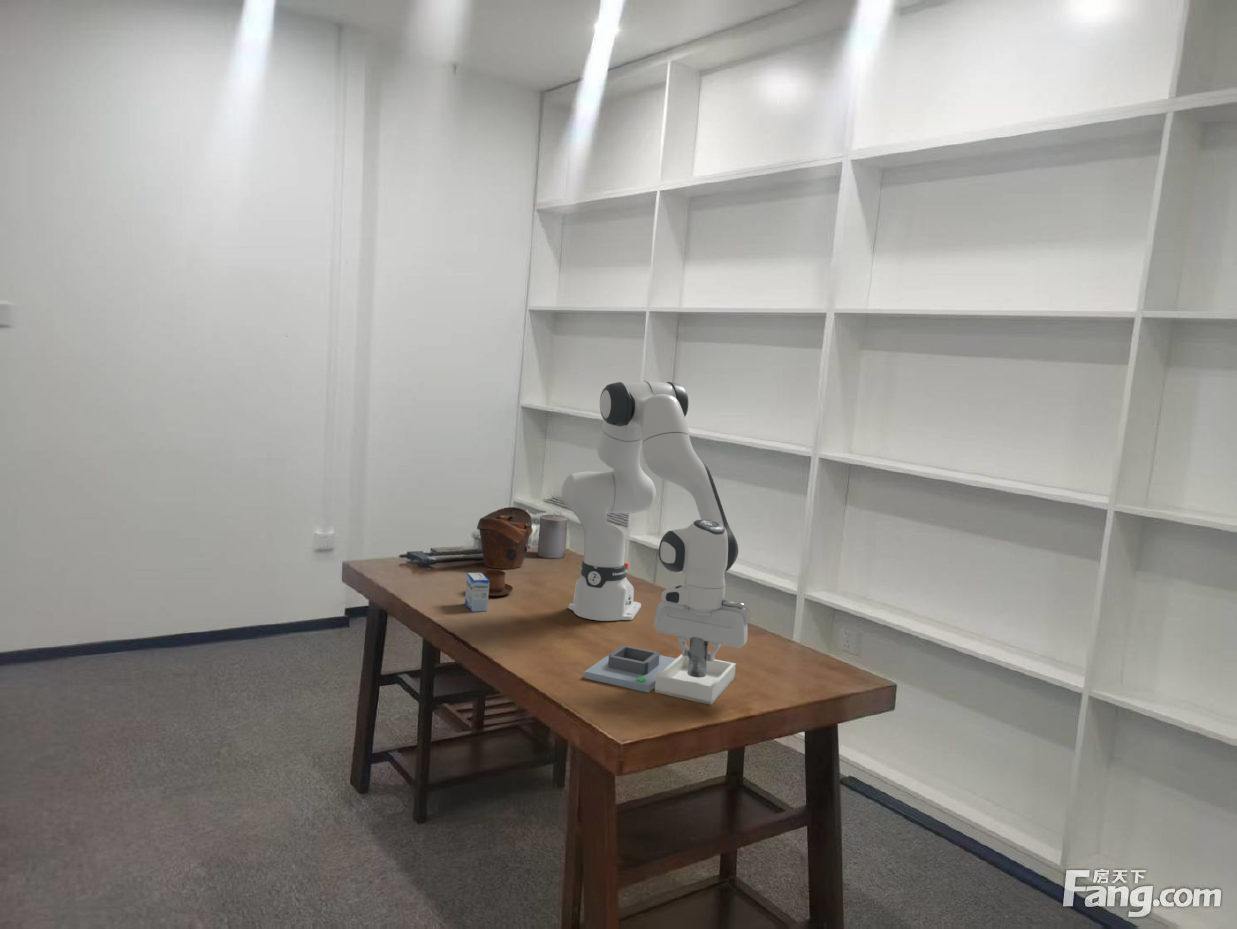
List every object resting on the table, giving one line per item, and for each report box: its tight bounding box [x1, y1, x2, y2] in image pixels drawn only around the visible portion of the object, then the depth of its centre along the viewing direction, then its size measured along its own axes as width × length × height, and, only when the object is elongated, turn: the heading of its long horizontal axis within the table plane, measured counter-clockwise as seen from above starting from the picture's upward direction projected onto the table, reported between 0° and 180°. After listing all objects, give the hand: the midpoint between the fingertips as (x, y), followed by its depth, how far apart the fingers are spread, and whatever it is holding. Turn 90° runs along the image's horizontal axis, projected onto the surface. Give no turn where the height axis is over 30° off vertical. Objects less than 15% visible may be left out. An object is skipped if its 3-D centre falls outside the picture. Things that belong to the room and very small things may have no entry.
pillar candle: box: [537, 513, 569, 560], centre depth 307 cm, size 10×10×15 cm
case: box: [476, 506, 533, 570], centre depth 288 cm, size 18×20×18 cm
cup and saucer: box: [479, 569, 514, 597], centre depth 253 cm, size 12×12×6 cm
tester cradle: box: [583, 644, 677, 693], centre depth 197 cm, size 20×15×4 cm
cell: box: [687, 637, 710, 678], centre depth 191 cm, size 4×4×9 cm
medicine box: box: [464, 572, 489, 613], centre depth 238 cm, size 8×4×9 cm, turn 23°
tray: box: [654, 653, 737, 706], centre depth 192 cm, size 18×12×4 cm
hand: (698, 658), depth 191 cm, fingers closed on cell, 4 cm apart
